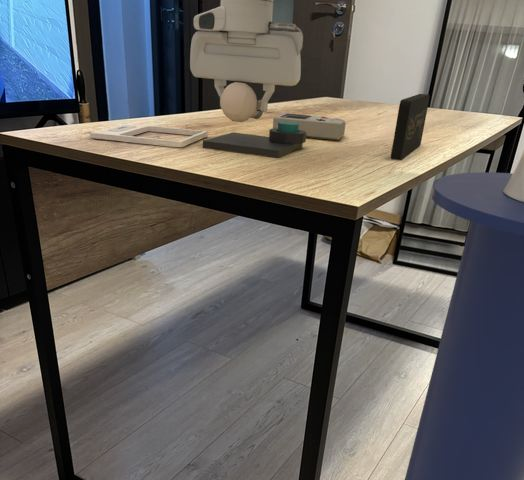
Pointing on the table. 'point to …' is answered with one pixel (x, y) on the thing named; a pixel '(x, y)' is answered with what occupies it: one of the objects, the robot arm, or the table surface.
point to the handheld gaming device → (314, 125)
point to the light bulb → (239, 102)
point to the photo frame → (128, 130)
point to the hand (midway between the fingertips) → (243, 109)
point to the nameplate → (409, 125)
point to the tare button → (288, 127)
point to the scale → (258, 143)
